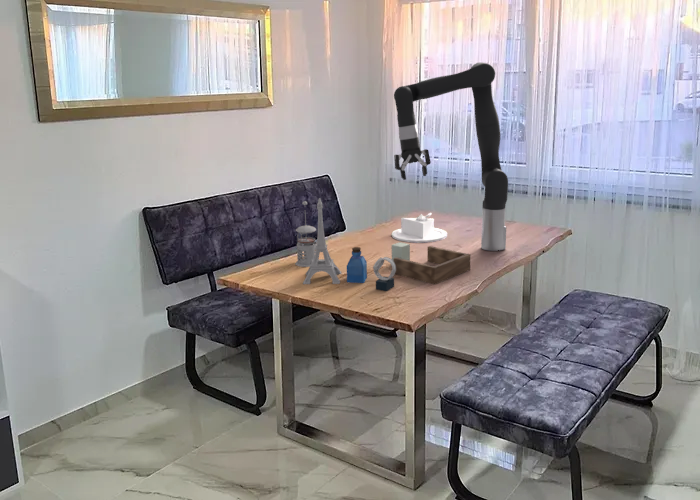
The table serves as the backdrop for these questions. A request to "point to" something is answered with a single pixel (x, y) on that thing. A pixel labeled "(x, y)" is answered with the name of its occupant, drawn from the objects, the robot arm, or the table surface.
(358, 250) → the perfume bottle
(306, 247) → the french press
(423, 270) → the walnut u-shaped frame
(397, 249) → the sage block
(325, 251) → the eiffel tower
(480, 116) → the robot arm
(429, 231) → the dish
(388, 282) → the watch
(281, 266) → the table surface
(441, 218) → the table surface
